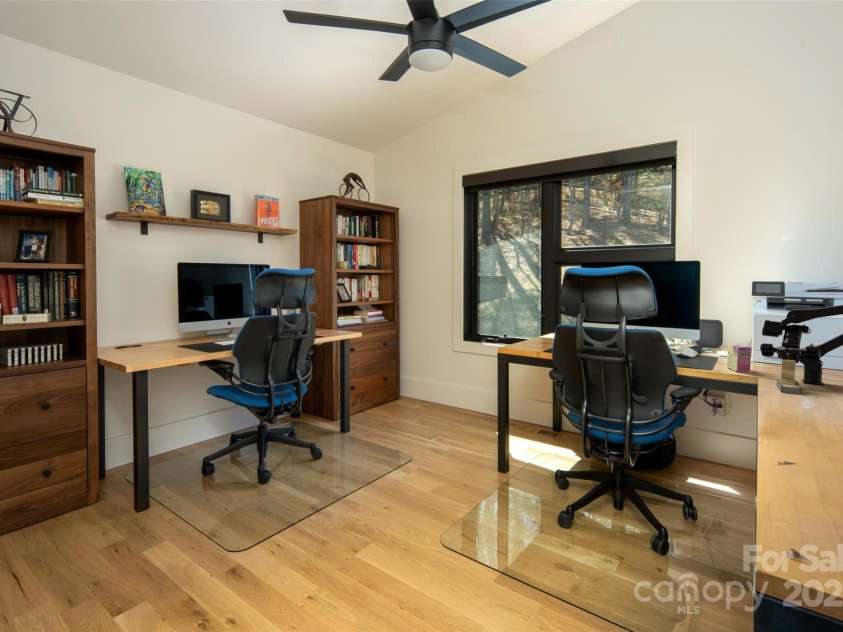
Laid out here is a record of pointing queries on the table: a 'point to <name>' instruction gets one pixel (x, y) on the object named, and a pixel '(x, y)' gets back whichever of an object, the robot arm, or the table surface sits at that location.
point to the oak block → (788, 372)
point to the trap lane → (789, 387)
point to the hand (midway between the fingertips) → (785, 368)
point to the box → (739, 357)
